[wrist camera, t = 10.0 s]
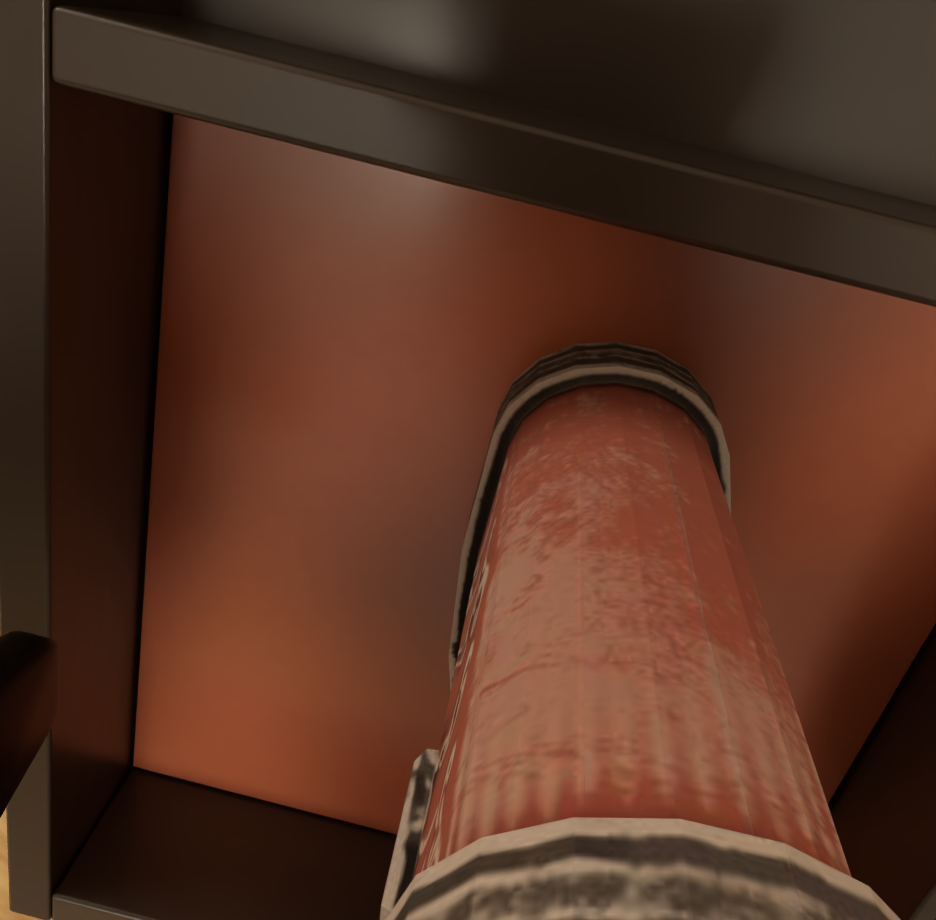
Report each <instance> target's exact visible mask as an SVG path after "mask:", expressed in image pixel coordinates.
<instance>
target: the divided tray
mask: <svg viewBox="0 0 936 920" xmlns="http://www.w3.org/2000/svg"><path fill="white" fill-rule="evenodd" d="M610 341H618V342H623V343H627V344H632V345H636V346H641V347H645V348H650V349H654V350H657V351H658V352H660V353H662V354H664V355H665V356H667V357H669V358H670V359H672V360H674V361H676V362H677V363H679V364H681V365H682V366H684V367H686V368H688V369H689V371H690V372H691V373H692V374H693V375H694V377H695V378H696V379H697V380H698V381H699V383H700V384H701V385H702V386H703V388H704V389H705V390H706V391H707V392H708V394H709V395H710V397H711V400H712V402H713V405H714V407H715V410H716V413H717V415H718V418H719V420H720V423H721V426H722V429H723V433H724V437H725V440H726V444H727V448H728V451H729V455H730V486H731V516H732V519H733V522H734V525H735V528H736V531H737V534H738V537H739V540H740V543H741V546H742V549H743V552H744V555H745V558H746V561H747V564H748V567H749V570H750V573H751V576H752V579H753V582H754V585H755V588H756V591H757V594H758V597H759V600H760V603H761V606H762V609H763V612H764V615H765V618H766V621H767V624H768V627H769V630H770V633H771V636H772V639H773V642H774V645H775V648H776V651H777V654H778V657H779V660H780V663H781V666H782V669H783V672H784V675H785V678H786V681H787V684H788V687H789V690H790V693H791V696H792V699H793V702H794V705H795V708H796V711H797V714H798V717H799V720H800V723H801V726H802V729H803V732H804V735H805V738H806V741H807V744H808V747H809V750H810V753H811V756H812V759H813V762H814V765H815V768H816V771H817V774H818V777H819V780H820V783H821V786H822V789H823V792H824V795H825V798H826V801H827V804H828V807H829V810H830V813H831V816H832V819H833V822H834V825H835V828H836V831H837V834H838V837H839V840H840V843H841V846H842V849H843V852H844V855H845V858H846V861H847V864H848V867H849V870H850V873H851V877H852V878H854V879H856V880H858V881H860V882H862V883H864V884H866V885H868V886H869V887H870V888H871V889H872V890H873V891H874V892H875V893H876V894H877V895H878V896H879V897H880V898H881V899H882V900H883V901H884V903H885V904H886V905H887V906H888V907H889V908H890V909H891V910H892V911H893V912H894V913H895V914H896V915H897V916H898V917H899V918H900V919H901V920H935V919H936V0H0V636H1V635H3V634H5V633H8V632H12V631H24V632H28V633H32V634H36V635H39V636H43V637H47V638H51V639H53V640H54V641H56V642H57V644H58V646H59V650H60V702H59V709H58V713H57V716H56V719H55V721H54V724H53V726H52V728H51V730H50V731H49V733H48V735H47V737H46V739H45V740H44V742H43V744H42V746H41V747H40V749H39V751H38V753H37V754H36V756H35V758H34V760H33V761H32V763H31V765H30V767H29V768H28V770H27V772H26V774H25V775H24V777H23V779H22V781H21V782H20V784H19V786H18V788H17V789H16V791H15V793H14V795H13V796H12V798H11V800H10V802H9V803H8V805H7V807H6V812H7V840H8V869H9V898H10V910H11V911H13V912H16V913H20V914H24V915H28V916H32V917H36V918H39V919H43V920H50V919H51V918H52V919H53V920H380V911H381V903H382V899H383V895H384V890H385V886H386V882H387V877H388V873H389V869H390V864H391V860H392V856H393V851H394V847H395V843H396V838H397V834H398V830H399V825H400V821H401V817H402V812H403V808H404V804H405V799H406V795H407V791H408V786H409V782H410V778H411V773H412V769H413V765H414V761H415V760H416V759H417V758H418V757H419V756H420V755H421V754H422V753H423V752H424V751H425V750H426V749H433V750H439V747H440V742H441V737H442V732H443V727H444V722H445V717H446V712H447V707H448V702H449V697H450V673H449V649H450V641H451V633H452V625H453V617H454V609H455V600H456V592H457V584H458V576H459V568H460V560H461V552H462V547H463V542H464V538H465V534H466V530H467V525H468V521H469V517H470V513H471V509H472V505H473V502H474V498H475V494H476V490H477V487H478V483H479V479H480V476H481V472H482V468H483V465H484V461H485V457H486V453H487V450H488V446H489V442H490V439H491V435H492V431H493V428H494V424H495V420H496V416H497V413H498V409H499V406H500V404H501V402H502V401H503V399H504V397H505V395H506V393H507V391H508V389H509V387H510V386H511V384H512V382H513V380H514V379H515V378H517V377H518V376H519V375H520V374H521V373H522V372H524V371H525V370H526V369H527V368H528V367H530V366H531V365H532V364H533V363H534V362H536V361H537V360H538V359H539V358H541V357H543V356H546V355H548V354H551V353H554V352H556V351H559V350H562V349H564V348H567V347H569V346H572V345H575V344H582V343H596V342H610Z"/></svg>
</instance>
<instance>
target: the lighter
mask: <svg viewBox="0 0 936 920" xmlns="http://www.w3.org/2000/svg"><path fill="white" fill-rule="evenodd" d="M449 673H450V697H449V702H448V707H447V712H446V717H445V722H444V727H443V732H442V737H441V742H440V747H439V750H433V749H426V750H425V751H424V752H423V753H422V754H421V755H420V756H419V757H418V758H417V759H416V760H415V761H414V765H413V769H412V773H411V778H410V782H409V786H408V791H407V795H406V799H405V804H404V808H403V812H402V817H401V821H400V825H399V830H398V834H397V838H396V843H395V847H394V851H393V856H392V860H391V864H390V869H389V873H388V877H387V882H386V886H385V890H384V895H383V899H382V903H381V911H380V920H901V919H900V918H899V917H898V916H897V915H896V914H895V913H894V912H893V911H892V910H891V909H890V908H889V907H888V906H887V905H886V904H885V903H884V901H883V900H882V899H881V898H880V897H879V896H878V895H877V894H876V893H875V892H874V891H873V890H872V889H871V888H870V887H869V886H868V885H866V884H864V883H862V882H860V881H858V880H856V879H854V878H852V877H851V873H850V870H849V867H848V864H847V861H846V858H845V855H844V852H843V849H842V846H841V843H840V840H839V837H838V834H837V831H836V828H835V825H834V822H833V819H832V816H831V813H830V810H829V807H828V804H827V801H826V798H825V795H824V792H823V789H822V786H821V783H820V780H819V777H818V774H817V771H816V768H815V765H814V762H813V759H812V756H811V753H810V750H809V747H808V744H807V741H806V738H805V735H804V732H803V729H802V726H801V723H800V720H799V717H798V714H797V711H796V708H795V705H794V702H793V699H792V696H791V693H790V690H789V687H788V684H787V681H786V678H785V675H784V672H783V669H782V666H781V663H780V660H779V657H778V654H777V651H776V648H775V645H774V642H773V639H772V636H771V633H770V630H769V627H768V624H767V621H766V618H765V615H764V612H763V609H762V606H761V603H760V600H759V597H758V594H757V591H756V588H755V585H754V582H753V579H752V576H751V573H750V570H749V567H748V564H747V561H746V558H745V555H744V552H743V549H742V546H741V543H740V540H739V537H738V534H737V531H736V528H735V525H734V522H733V519H732V516H731V486H730V455H729V451H728V448H727V444H726V440H725V437H724V433H723V429H722V426H721V423H720V420H719V418H718V415H717V413H716V410H715V407H714V405H713V402H712V400H711V397H710V395H709V394H708V392H707V391H706V390H705V389H704V388H703V386H702V385H701V384H700V383H699V381H698V380H697V379H696V378H695V377H694V375H693V374H692V373H691V372H690V371H689V369H688V368H686V367H684V366H682V365H681V364H679V363H677V362H676V361H674V360H672V359H670V358H669V357H667V356H665V355H664V354H662V353H660V352H658V351H657V350H654V349H650V348H645V347H641V346H636V345H632V344H627V343H623V342H618V341H610V342H596V343H582V344H575V345H572V346H569V347H567V348H564V349H562V350H559V351H556V352H554V353H551V354H548V355H546V356H543V357H541V358H539V359H538V360H537V361H536V362H534V363H533V364H532V365H531V366H530V367H528V368H527V369H526V370H525V371H524V372H522V373H521V374H520V375H519V376H518V377H517V378H515V379H514V380H513V382H512V384H511V386H510V387H509V389H508V391H507V393H506V395H505V397H504V399H503V401H502V402H501V404H500V406H499V409H498V413H497V416H496V420H495V424H494V428H493V431H492V435H491V439H490V442H489V446H488V450H487V453H486V457H485V461H484V465H483V468H482V472H481V476H480V479H479V483H478V487H477V490H476V494H475V498H474V502H473V505H472V509H471V513H470V517H469V521H468V525H467V530H466V534H465V538H464V542H463V547H462V552H461V560H460V568H459V576H458V584H457V592H456V600H455V609H454V617H453V625H452V633H451V641H450V649H449Z"/></svg>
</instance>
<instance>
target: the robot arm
mask: <svg viewBox="0 0 936 920" xmlns="http://www.w3.org/2000/svg"><path fill="white" fill-rule="evenodd" d="M59 702H60V650H59V646H58V644H57V642H56V641H54V640H53V639H51V638H47V637H43V636H39V635H36V634H32V633H28V632H24V631H12V632H8V633H5V634H3V635H1V636H0V817H1V816H2V814H3V812H4V810H5V809H6V807H7V805H8V803H9V802H10V800H11V798H12V796H13V795H14V793H15V791H16V789H17V788H18V786H19V784H20V782H21V781H22V779H23V777H24V775H25V774H26V772H27V770H28V768H29V767H30V765H31V763H32V761H33V760H34V758H35V756H36V754H37V753H38V751H39V749H40V747H41V746H42V744H43V742H44V740H45V739H46V737H47V735H48V733H49V731H50V730H51V728H52V726H53V724H54V721H55V719H56V716H57V713H58V709H59ZM935 920H936V919H935Z"/></svg>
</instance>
